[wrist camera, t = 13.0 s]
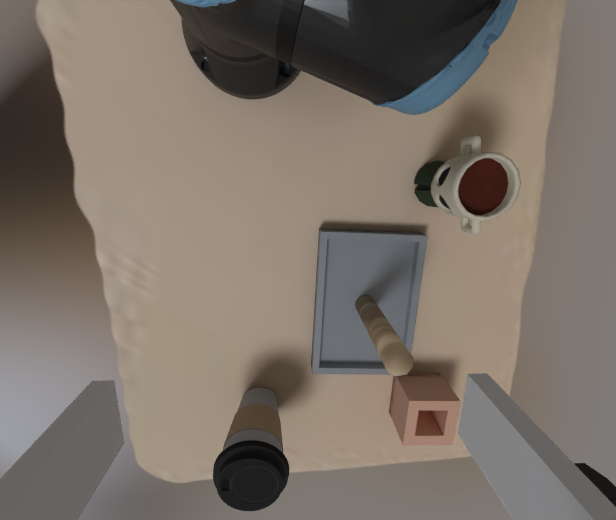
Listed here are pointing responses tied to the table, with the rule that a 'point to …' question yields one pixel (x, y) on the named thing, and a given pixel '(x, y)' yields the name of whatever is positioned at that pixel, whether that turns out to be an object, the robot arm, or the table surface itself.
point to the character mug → (470, 185)
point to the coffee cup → (252, 454)
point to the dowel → (384, 337)
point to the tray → (363, 281)
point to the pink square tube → (424, 409)
